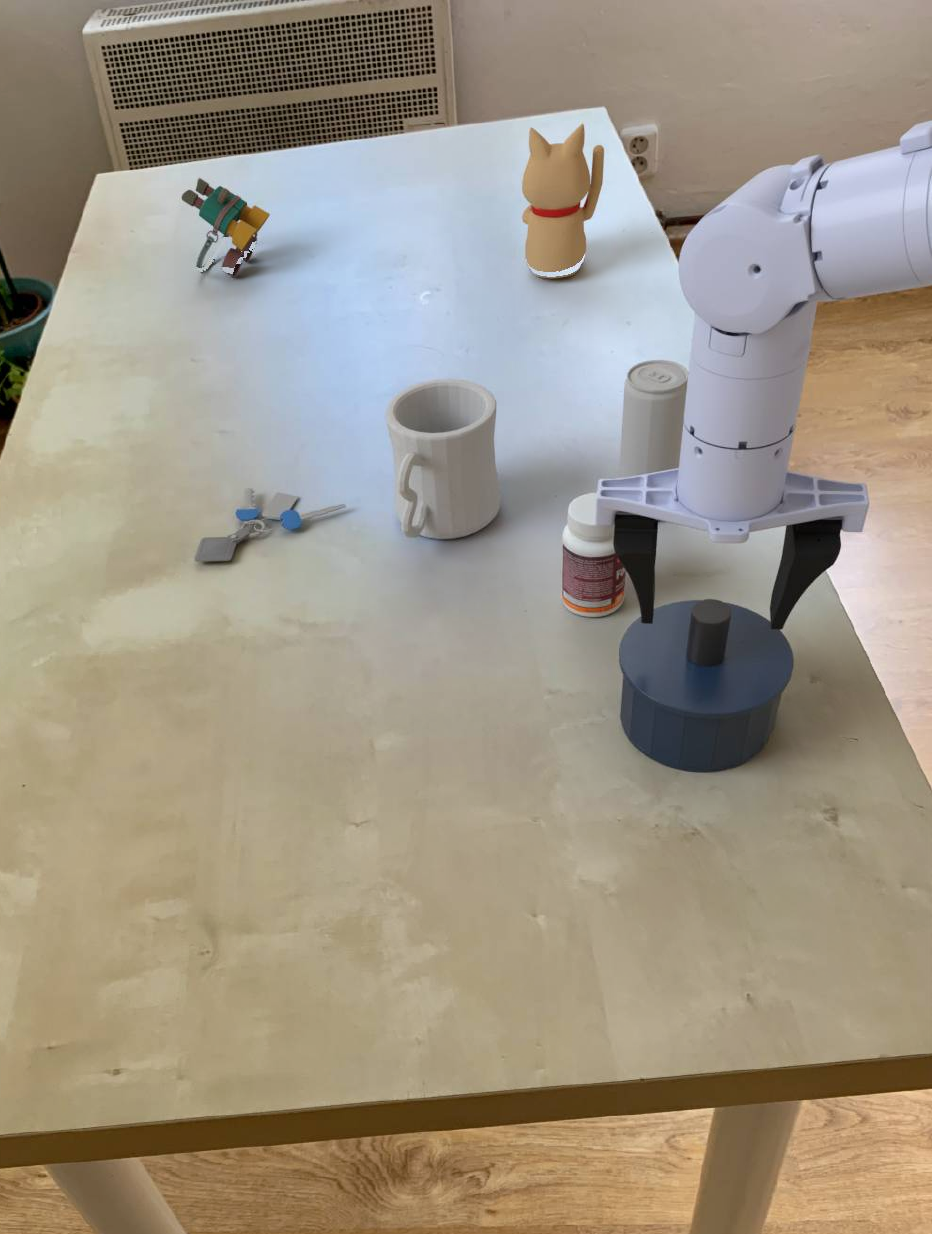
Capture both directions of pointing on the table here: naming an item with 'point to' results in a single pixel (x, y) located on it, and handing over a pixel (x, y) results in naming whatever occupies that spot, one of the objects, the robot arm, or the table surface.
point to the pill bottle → (590, 562)
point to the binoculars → (227, 221)
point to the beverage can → (652, 417)
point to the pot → (694, 734)
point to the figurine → (559, 200)
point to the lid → (706, 659)
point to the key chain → (276, 510)
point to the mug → (444, 458)
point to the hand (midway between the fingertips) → (711, 616)
